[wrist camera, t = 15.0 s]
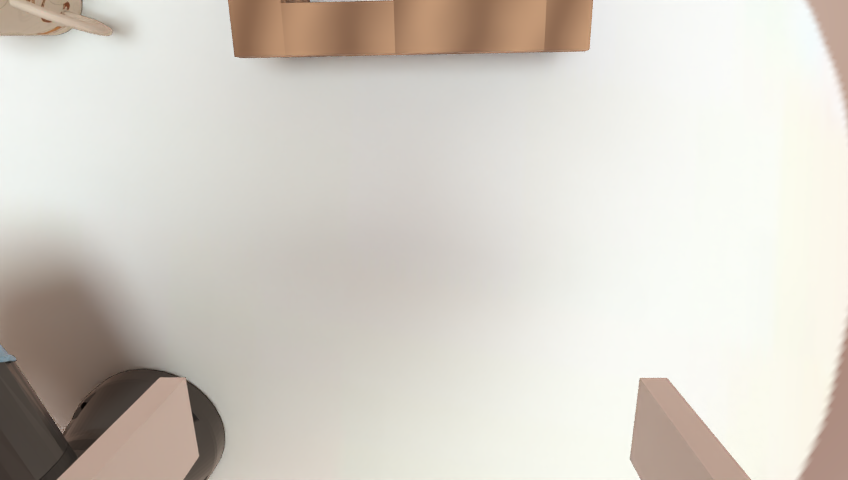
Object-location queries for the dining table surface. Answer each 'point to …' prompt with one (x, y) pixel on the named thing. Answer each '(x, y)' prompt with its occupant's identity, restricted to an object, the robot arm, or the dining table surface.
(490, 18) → the keyhole shelf
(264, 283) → the dining table surface
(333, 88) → the dining table surface
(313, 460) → the dining table surface
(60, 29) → the mug
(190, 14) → the dining table surface
